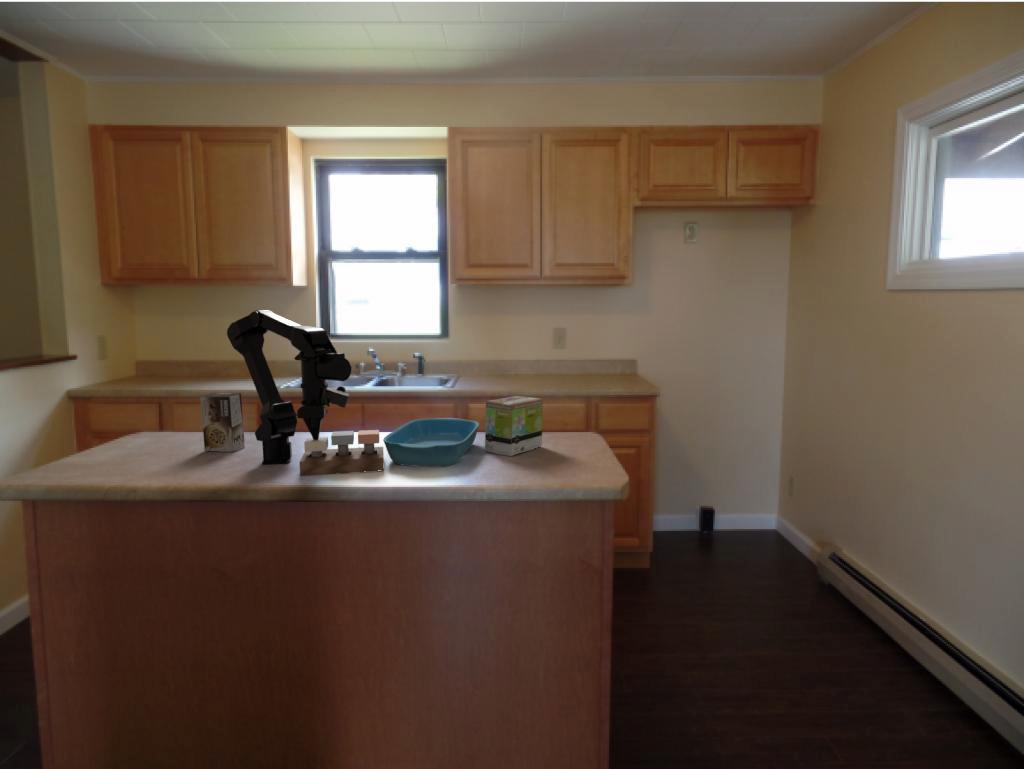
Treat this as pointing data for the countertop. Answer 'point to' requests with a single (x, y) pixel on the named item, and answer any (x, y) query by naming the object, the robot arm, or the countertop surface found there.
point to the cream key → (316, 446)
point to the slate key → (342, 441)
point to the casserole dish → (431, 441)
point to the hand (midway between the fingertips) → (316, 439)
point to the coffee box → (222, 422)
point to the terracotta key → (368, 440)
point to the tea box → (513, 425)
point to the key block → (341, 462)
